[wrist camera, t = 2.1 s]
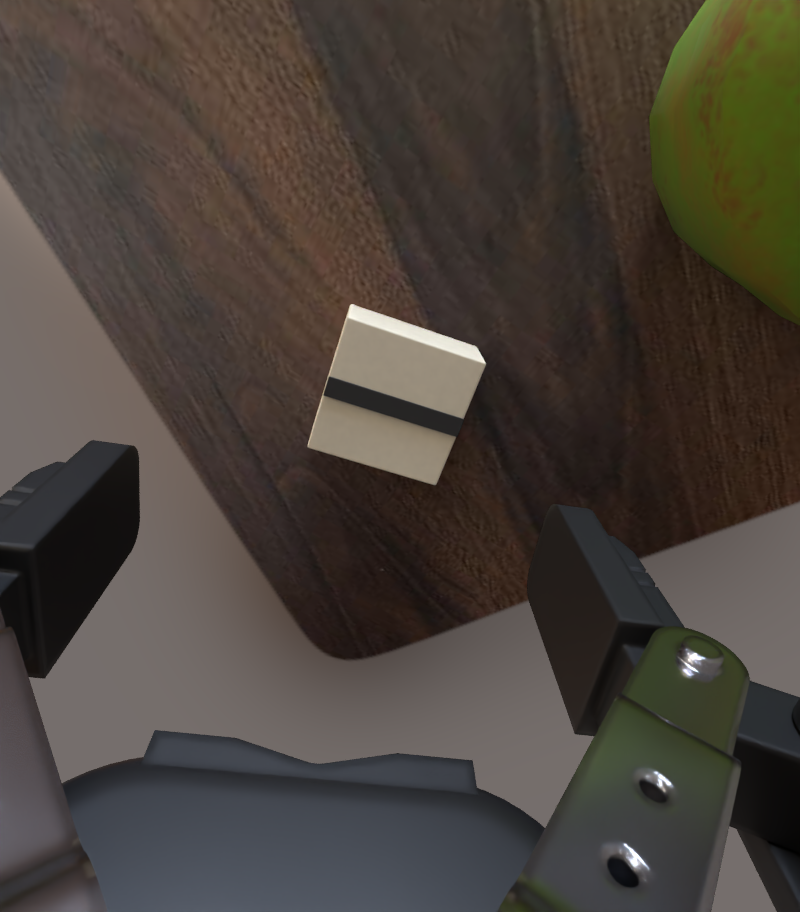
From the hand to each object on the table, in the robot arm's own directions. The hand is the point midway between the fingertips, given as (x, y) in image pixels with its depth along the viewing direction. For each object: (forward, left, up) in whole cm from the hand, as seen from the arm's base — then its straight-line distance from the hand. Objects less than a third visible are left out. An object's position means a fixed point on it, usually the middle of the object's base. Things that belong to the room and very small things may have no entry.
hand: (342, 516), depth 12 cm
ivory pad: (+2, -2, -15) cm, 15 cm away
